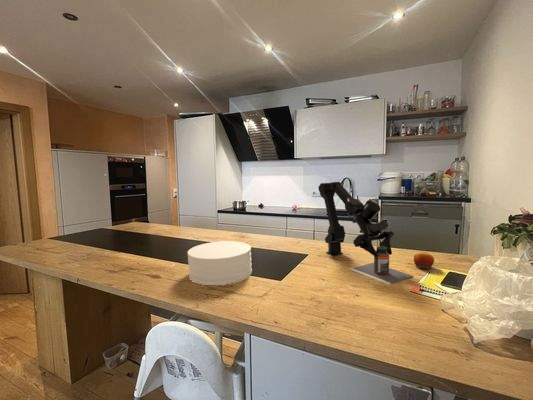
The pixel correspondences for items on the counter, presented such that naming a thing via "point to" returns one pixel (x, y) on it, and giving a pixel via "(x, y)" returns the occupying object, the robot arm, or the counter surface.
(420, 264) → the fruit
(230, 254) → the plate stack
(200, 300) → the counter surface
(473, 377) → the counter surface
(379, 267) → the supplement bottle
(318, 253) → the counter surface
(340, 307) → the counter surface
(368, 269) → the mat
